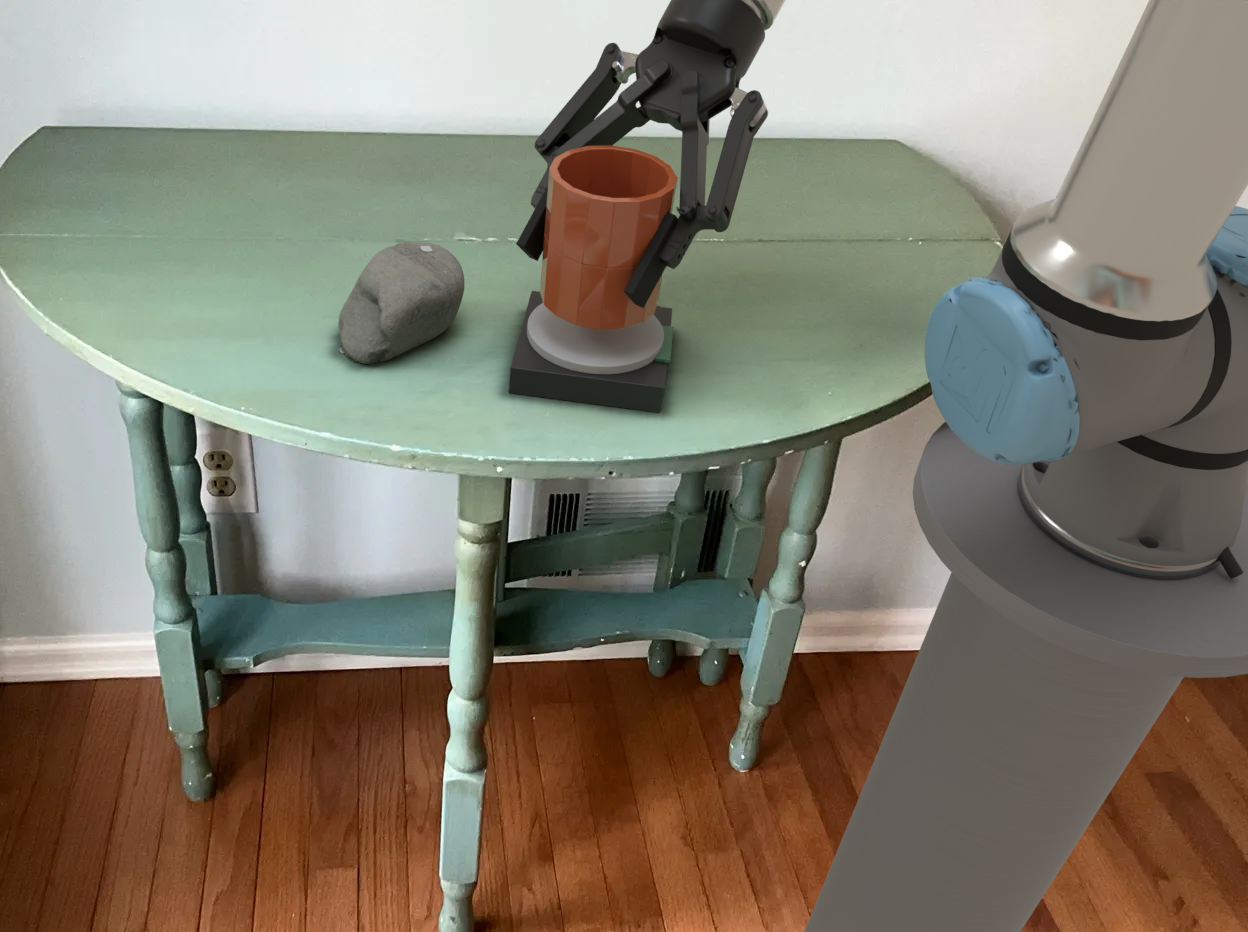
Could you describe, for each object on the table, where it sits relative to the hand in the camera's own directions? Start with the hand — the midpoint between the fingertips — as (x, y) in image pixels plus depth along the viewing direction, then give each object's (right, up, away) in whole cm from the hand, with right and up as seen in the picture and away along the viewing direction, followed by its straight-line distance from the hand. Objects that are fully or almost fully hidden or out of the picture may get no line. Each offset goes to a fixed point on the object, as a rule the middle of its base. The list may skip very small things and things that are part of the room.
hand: (579, 275), depth 89 cm
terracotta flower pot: (+2, -1, +5) cm, 5 cm away
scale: (+1, -5, +8) cm, 10 cm away
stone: (-15, -3, +10) cm, 18 cm away
